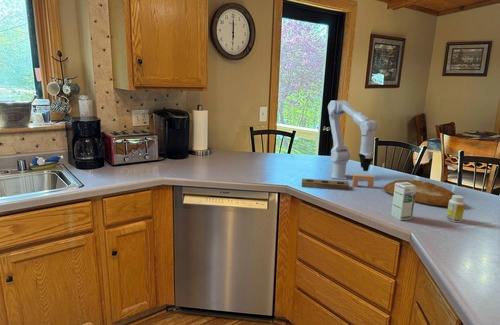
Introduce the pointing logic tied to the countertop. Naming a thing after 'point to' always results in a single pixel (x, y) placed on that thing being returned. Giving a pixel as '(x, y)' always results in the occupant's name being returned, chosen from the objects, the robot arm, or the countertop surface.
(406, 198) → the syrup box
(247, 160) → the countertop surface
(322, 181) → the wooden board with holes
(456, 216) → the supplement bottle
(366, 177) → the tan rectangular block
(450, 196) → the bread
